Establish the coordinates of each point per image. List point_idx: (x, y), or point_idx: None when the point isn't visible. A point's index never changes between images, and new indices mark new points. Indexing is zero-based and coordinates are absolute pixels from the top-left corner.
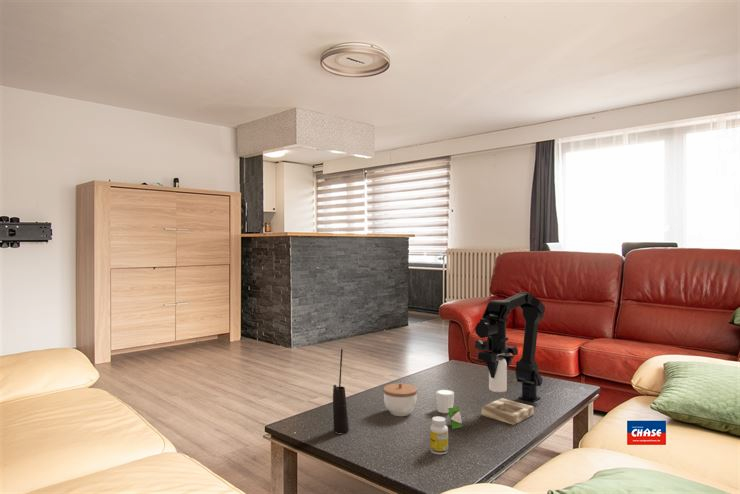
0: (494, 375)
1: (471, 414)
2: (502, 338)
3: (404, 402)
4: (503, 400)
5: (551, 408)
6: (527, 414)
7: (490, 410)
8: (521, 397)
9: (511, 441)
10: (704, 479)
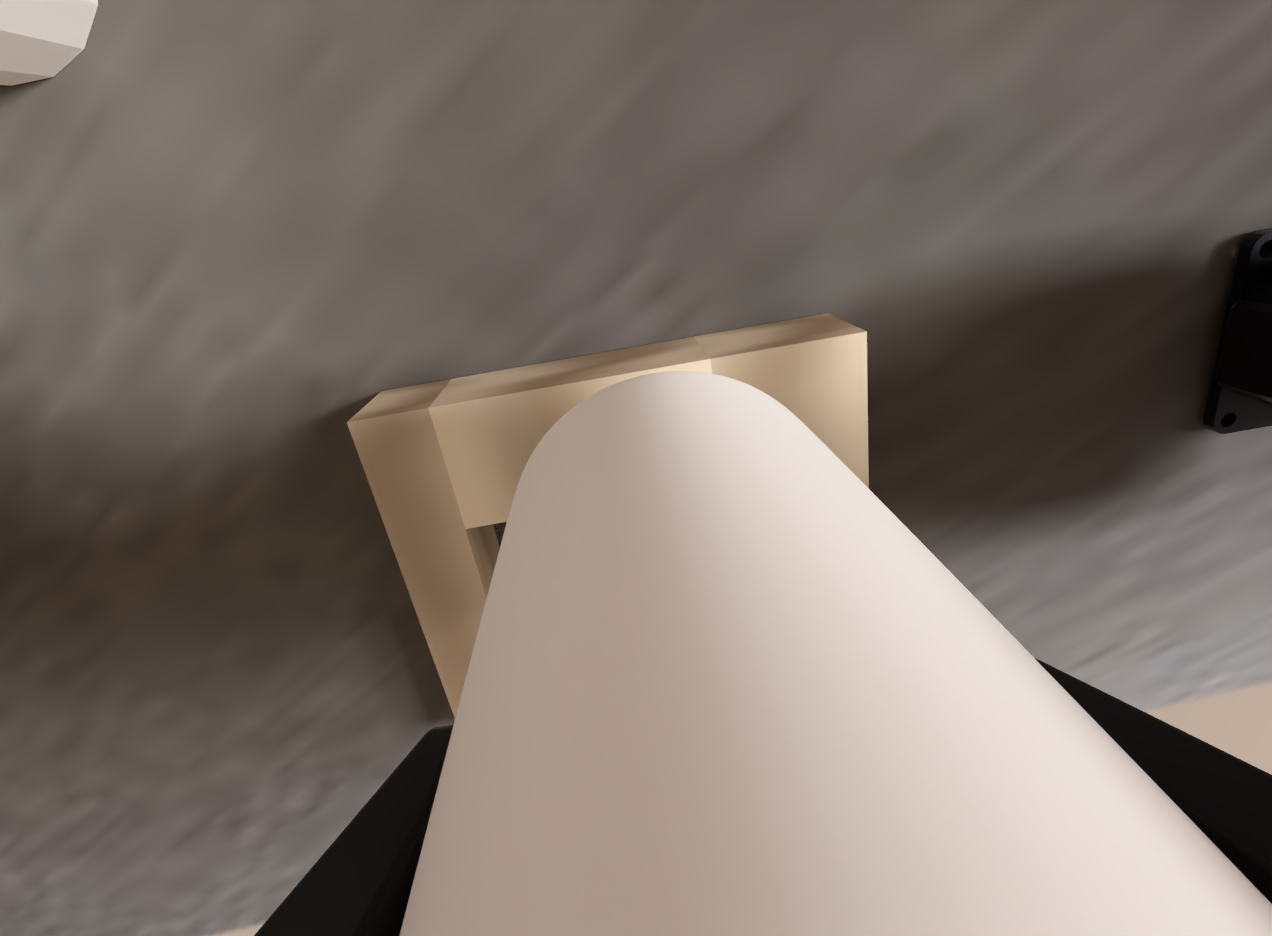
0: None
1: (276, 309)
2: None
3: None
4: (795, 411)
5: (1118, 625)
6: None
7: (393, 537)
8: (1252, 280)
9: (233, 868)
10: None
